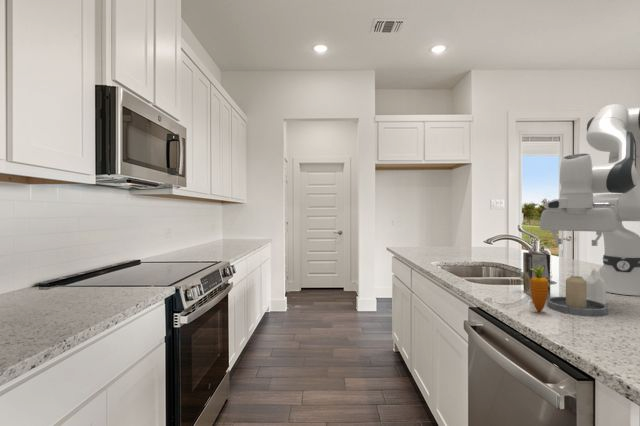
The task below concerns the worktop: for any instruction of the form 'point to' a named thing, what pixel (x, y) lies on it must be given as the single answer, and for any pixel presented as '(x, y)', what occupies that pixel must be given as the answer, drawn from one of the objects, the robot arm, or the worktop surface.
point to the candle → (576, 292)
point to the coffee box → (535, 268)
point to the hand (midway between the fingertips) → (576, 244)
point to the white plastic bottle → (596, 287)
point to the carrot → (539, 289)
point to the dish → (590, 310)
